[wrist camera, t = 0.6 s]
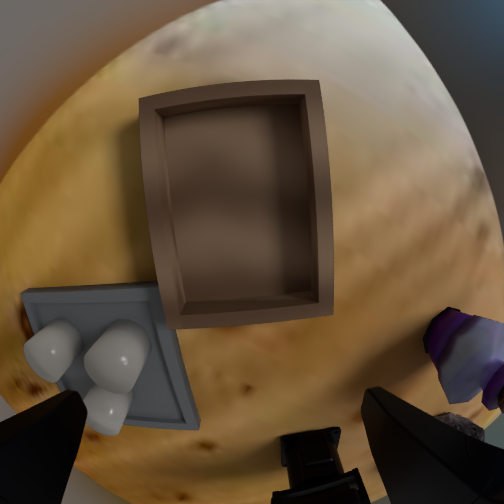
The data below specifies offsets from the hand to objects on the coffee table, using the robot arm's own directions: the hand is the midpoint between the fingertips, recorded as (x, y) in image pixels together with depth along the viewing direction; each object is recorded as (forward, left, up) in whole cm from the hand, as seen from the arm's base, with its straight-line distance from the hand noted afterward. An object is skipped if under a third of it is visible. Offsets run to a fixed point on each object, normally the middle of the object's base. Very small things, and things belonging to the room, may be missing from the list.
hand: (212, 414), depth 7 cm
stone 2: (-5, +9, -13) cm, 16 cm away
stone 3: (-10, +12, -13) cm, 20 cm away
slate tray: (-8, +12, -13) cm, 20 cm away
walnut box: (+5, -1, -13) cm, 14 cm away
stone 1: (-5, +16, -13) cm, 21 cm away
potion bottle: (-9, -20, -14) cm, 26 cm away
